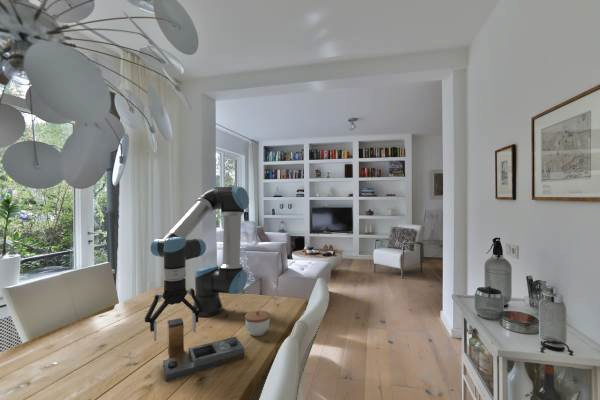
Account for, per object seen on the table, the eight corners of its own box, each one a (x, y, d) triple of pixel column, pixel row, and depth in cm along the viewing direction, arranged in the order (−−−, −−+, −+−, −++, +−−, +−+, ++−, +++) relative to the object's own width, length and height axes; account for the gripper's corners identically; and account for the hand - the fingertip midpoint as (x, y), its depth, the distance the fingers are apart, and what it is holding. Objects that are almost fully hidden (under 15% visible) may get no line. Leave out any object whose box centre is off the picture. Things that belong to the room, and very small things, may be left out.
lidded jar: (265, 339, 121) (265, 316, 121) (241, 337, 123) (240, 315, 123) (273, 328, 132) (272, 307, 132) (250, 326, 134) (250, 306, 134)
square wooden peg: (167, 352, 112) (167, 320, 112) (181, 348, 114) (181, 317, 114) (169, 358, 107) (168, 325, 107) (183, 354, 110) (183, 322, 110)
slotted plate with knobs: (162, 366, 102) (162, 352, 102) (235, 346, 115) (235, 335, 115) (166, 381, 94) (165, 366, 94) (244, 358, 107) (244, 345, 107)
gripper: (137, 285, 101) (137, 347, 101) (210, 276, 114) (211, 331, 114) (136, 281, 108) (137, 339, 108) (206, 272, 120) (206, 324, 120)
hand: (175, 335), depth 111 cm, fingers open, 13 cm apart
